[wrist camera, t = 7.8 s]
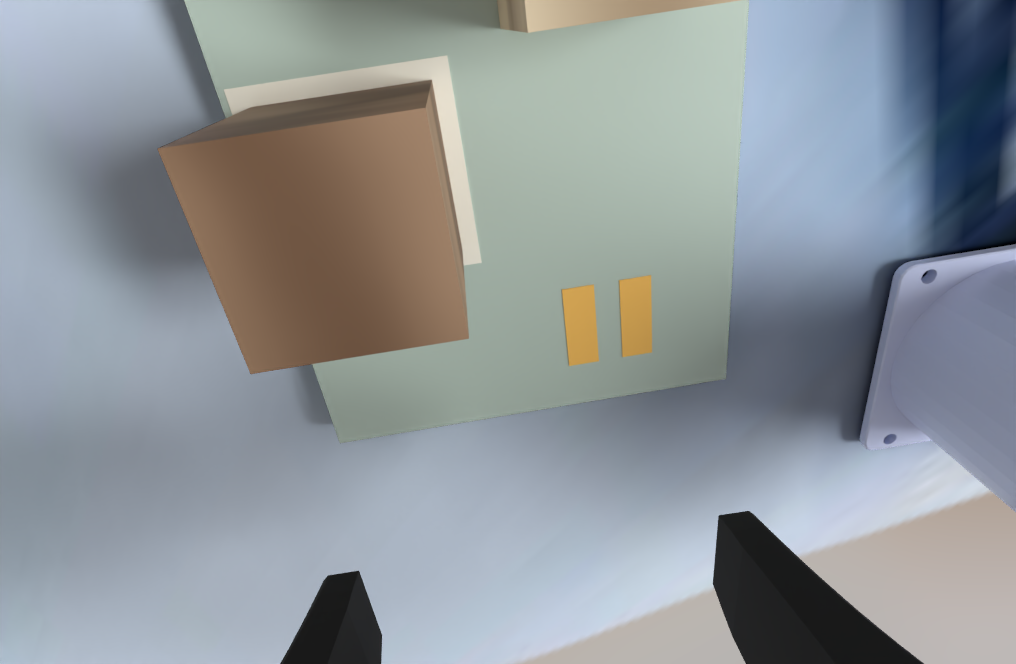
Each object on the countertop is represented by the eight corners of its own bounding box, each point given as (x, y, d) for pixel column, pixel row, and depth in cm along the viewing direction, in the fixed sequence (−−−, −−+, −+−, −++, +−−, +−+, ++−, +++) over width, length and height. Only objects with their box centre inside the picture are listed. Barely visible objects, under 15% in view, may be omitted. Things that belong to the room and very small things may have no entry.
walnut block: (432, 79, 15) (425, 107, 10) (462, 249, 17) (469, 338, 12) (251, 107, 15) (156, 148, 10) (305, 274, 17) (250, 374, 12)
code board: (745, -285, 13) (768, -308, 12) (714, 364, 21) (726, 379, 20) (132, -197, 12) (108, -215, 12) (344, 425, 21) (339, 443, 20)
